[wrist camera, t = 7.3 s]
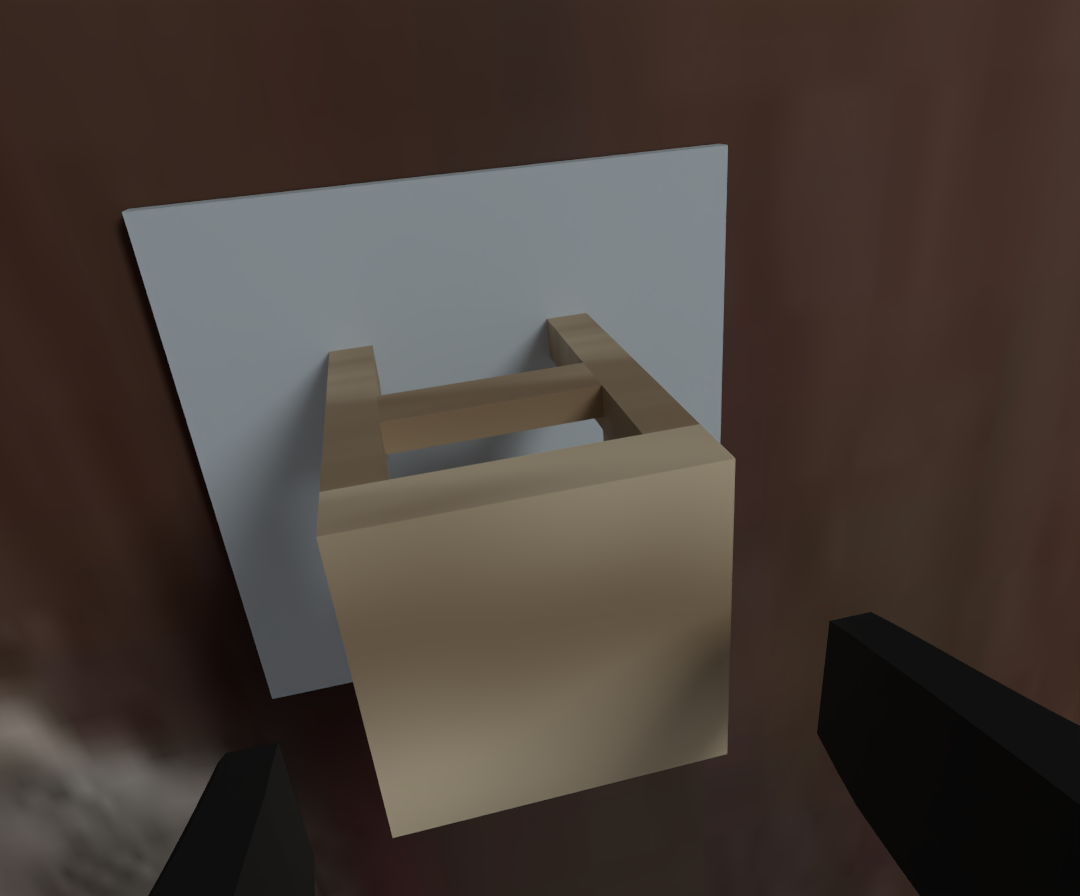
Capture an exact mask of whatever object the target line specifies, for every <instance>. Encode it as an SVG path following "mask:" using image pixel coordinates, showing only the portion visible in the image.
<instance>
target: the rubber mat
mask: <svg viewBox="0 0 1080 896" xmlns="http://www.w3.org/2000/svg"><path fill="white" fill-rule="evenodd" d="M727 157H728V145H725V144H712V145H703V146H694V147H685V148H676V149H667V150H658V151H649V152H640V153H631V154H622V155H613V156H604V157H595V158H586V159H577V160H568V161H559V162H550V163H540V164H531V165H522V166H513V167H504V168H495V169H486V170H477V171H468V172H459V173H450V174H441V175H432V176H423V177H414V178H405V179H396V180H387V181H378V182H368V183H359V184H350V185H341V186H332V187H323V188H314V189H305V190H296V191H287V192H278V193H269V194H260V195H251V196H242V197H233V198H224V199H215V200H205V201H196V202H187V203H178V204H169V205H160V206H151V207H142V208H133V209H127V210H125V211H123V212H122V214H123V217H124V221H125V224H126V227H127V230H128V233H129V237H130V240H131V243H132V246H133V250H134V253H135V256H136V259H137V263H138V266H139V269H140V272H141V276H142V279H143V282H144V285H145V288H146V292H147V295H148V298H149V301H150V305H151V308H152V311H153V314H154V318H155V321H156V324H157V327H158V331H159V334H160V337H161V340H162V343H163V347H164V350H165V353H166V356H167V360H168V363H169V366H170V369H171V373H172V376H173V379H174V382H175V386H176V389H177V392H178V395H179V398H180V402H181V405H182V408H183V411H184V415H185V418H186V421H187V424H188V428H189V431H190V434H191V437H192V441H193V444H194V447H195V450H196V453H197V457H198V460H199V463H200V466H201V470H202V473H203V476H204V479H205V483H206V486H207V489H208V492H209V496H210V499H211V502H212V505H213V508H214V512H215V515H216V518H217V521H218V525H219V528H220V531H221V534H222V538H223V541H224V544H225V547H226V551H227V554H228V557H229V560H230V563H231V567H232V570H233V573H234V576H235V580H236V583H237V586H238V589H239V593H240V596H241V599H242V602H243V606H244V609H245V612H246V615H247V618H248V622H249V625H250V628H251V631H252V635H253V638H254V641H255V644H256V648H257V651H258V654H259V657H260V661H261V664H262V667H263V670H264V673H265V677H266V680H267V683H268V686H269V690H270V693H271V696H272V699H275V698H280V697H284V696H289V695H294V694H298V693H303V692H308V691H313V690H317V689H322V688H327V687H331V686H336V685H341V684H346V683H350V682H353V680H352V676H351V672H350V668H349V664H348V660H347V656H346V652H345V648H344V644H343V641H342V637H341V633H340V629H339V625H338V621H337V617H336V613H335V609H334V605H333V601H332V597H331V593H330V590H329V586H328V582H327V578H326V574H325V570H324V566H323V562H322V558H321V554H320V550H319V546H318V542H317V539H316V532H317V518H318V504H319V490H320V476H321V462H322V448H323V434H324V420H325V406H326V392H327V378H328V364H329V352H330V351H337V350H343V349H350V348H357V347H363V346H370V345H373V350H374V355H375V361H376V366H377V371H378V376H379V381H380V388H381V395H386V394H392V393H398V392H405V391H411V390H417V389H423V388H429V387H436V386H442V385H448V384H454V383H460V382H467V381H473V380H479V379H485V378H491V377H498V376H504V375H510V374H516V373H522V372H529V371H535V370H541V369H547V368H553V367H557V366H556V365H555V363H554V362H553V361H552V359H551V358H550V349H549V337H548V326H547V319H549V318H555V317H562V316H569V315H575V314H582V313H587V314H588V315H589V316H590V317H591V318H592V319H593V320H594V321H595V322H596V323H597V324H598V325H599V326H600V327H601V328H602V329H603V330H605V331H606V332H607V333H608V334H609V335H610V336H611V337H612V338H613V339H614V340H615V341H616V342H617V343H618V344H619V345H620V346H621V347H622V348H623V349H624V350H625V351H626V352H627V353H628V354H629V355H630V356H631V357H632V358H633V359H634V360H635V361H636V362H637V363H638V364H639V365H640V366H641V367H642V368H643V369H644V370H645V371H646V372H647V373H648V374H649V375H650V376H652V377H653V378H654V379H655V380H656V381H657V382H658V383H659V384H660V385H661V386H662V387H663V388H664V389H665V390H666V391H667V392H668V393H669V394H670V395H671V396H672V397H673V398H674V399H675V400H676V401H677V402H678V403H679V404H680V405H681V406H682V407H683V408H684V409H685V410H686V411H687V412H688V413H689V414H690V415H691V416H692V417H693V418H694V419H695V420H696V421H698V422H699V423H700V424H701V425H702V426H703V427H704V428H705V429H706V430H707V431H708V432H709V433H710V434H711V435H712V436H713V437H714V438H715V439H716V440H717V441H718V442H719V443H720V430H721V391H722V352H723V313H724V274H725V235H726V196H727ZM602 441H603V429H602V428H601V427H600V425H599V424H598V423H597V421H596V420H595V419H589V420H583V421H577V422H571V423H566V424H560V425H554V426H548V427H543V428H537V429H531V430H525V431H520V432H514V433H508V434H502V435H497V436H491V437H485V438H479V439H473V440H468V441H462V442H456V443H450V444H445V445H439V446H433V447H427V448H422V449H416V450H410V451H404V452H399V453H393V454H387V456H388V466H389V476H390V479H395V478H401V477H407V476H412V475H418V474H423V473H429V472H435V471H440V470H446V469H451V468H457V467H463V466H468V465H474V464H479V463H485V462H491V461H496V460H502V459H507V458H513V457H519V456H524V455H530V454H535V453H541V452H547V451H552V450H558V449H563V448H569V447H574V446H580V445H586V444H591V443H597V442H602Z"/></svg>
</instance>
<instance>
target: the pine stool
mask: <svg viewBox="0 0 1080 896" xmlns="http://www.w3.org/2000/svg"><path fill="white" fill-rule="evenodd" d="M547 326H548V337H549V349H550V358H551V359H552V361H553V362H554V363H555V365H556V366H557V367H553V368H547V369H541V370H535V371H529V372H522V373H516V374H510V375H504V376H498V377H491V378H485V379H479V380H473V381H467V382H460V383H454V384H448V385H442V386H436V387H429V388H423V389H417V390H411V391H405V392H398V393H392V394H386V395H381V388H380V381H379V376H378V371H377V366H376V361H375V355H374V350H373V345H370V346H363V347H357V348H350V349H343V350H337V351H330V352H329V364H328V378H327V392H326V406H325V420H324V434H323V448H322V462H321V476H320V490H319V504H318V518H317V532H316V539H317V542H318V546H319V550H320V554H321V558H322V562H323V566H324V570H325V574H326V578H327V582H328V586H329V590H330V593H331V597H332V601H333V605H334V609H335V613H336V617H337V621H338V625H339V629H340V633H341V637H342V641H343V644H344V648H345V652H346V656H347V660H348V664H349V668H350V672H351V676H352V680H353V684H354V688H355V692H356V695H357V699H358V703H359V707H360V711H361V715H362V719H363V723H364V727H365V731H366V735H367V739H368V743H369V747H370V750H371V754H372V758H373V762H374V766H375V770H376V774H377V778H378V782H379V786H380V790H381V794H382V798H383V801H384V805H385V809H386V813H387V817H388V821H389V825H390V829H391V833H392V837H393V838H395V837H399V836H403V835H407V834H411V833H415V832H419V831H423V830H427V829H431V828H435V827H439V826H443V825H447V824H451V823H455V822H459V821H463V820H466V819H470V818H474V817H478V816H482V815H486V814H490V813H494V812H498V811H502V810H506V809H510V808H514V807H518V806H522V805H526V804H530V803H534V802H538V801H542V800H546V799H550V798H554V797H558V796H562V795H566V794H570V793H574V792H578V791H582V790H586V789H590V788H594V787H598V786H602V785H606V784H610V783H614V782H618V781H622V780H626V779H630V778H634V777H638V776H642V775H646V774H650V773H654V772H658V771H661V770H665V769H669V768H673V767H677V766H681V765H685V764H689V763H693V762H697V761H701V760H705V759H709V758H713V757H717V756H721V755H725V754H727V738H728V702H729V666H730V631H731V595H732V560H733V524H734V488H735V458H734V457H733V456H732V455H731V454H730V453H729V452H728V451H727V450H726V449H725V448H724V447H723V446H722V445H721V444H720V443H719V442H718V441H717V440H716V439H715V438H714V437H713V436H712V435H711V434H710V433H709V432H708V431H707V430H706V429H705V428H704V427H703V426H702V425H701V424H700V423H699V422H698V421H696V420H695V419H694V418H693V417H692V416H691V415H690V414H689V413H688V412H687V411H686V410H685V409H684V408H683V407H682V406H681V405H680V404H679V403H678V402H677V401H676V400H675V399H674V398H673V397H672V396H671V395H670V394H669V393H668V392H667V391H666V390H665V389H664V388H663V387H662V386H661V385H660V384H659V383H658V382H657V381H656V380H655V379H654V378H653V377H652V376H650V375H649V374H648V373H647V372H646V371H645V370H644V369H643V368H642V367H641V366H640V365H639V364H638V363H637V362H636V361H635V360H634V359H633V358H632V357H631V356H630V355H629V354H628V353H627V352H626V351H625V350H624V349H623V348H622V347H621V346H620V345H619V344H618V343H617V342H616V341H615V340H614V339H613V338H612V337H611V336H610V335H609V334H608V333H607V332H606V331H605V330H603V329H602V328H601V327H600V326H599V325H598V324H597V323H596V322H595V321H594V320H593V319H592V318H591V317H590V316H589V315H588V314H587V313H582V314H575V315H569V316H562V317H555V318H549V319H547ZM589 419H595V420H596V421H597V423H598V424H599V425H600V427H601V428H602V429H603V441H602V442H597V443H591V444H586V445H580V446H574V447H569V448H563V449H558V450H552V451H547V452H541V453H535V454H530V455H524V456H519V457H513V458H507V459H502V460H496V461H491V462H485V463H479V464H474V465H468V466H463V467H457V468H451V469H446V470H440V471H435V472H429V473H423V474H418V475H412V476H407V477H401V478H395V479H390V476H389V466H388V456H387V454H393V453H399V452H404V451H410V450H416V449H422V448H427V447H433V446H439V445H445V444H450V443H456V442H462V441H468V440H473V439H479V438H485V437H491V436H497V435H502V434H508V433H514V432H520V431H525V430H531V429H537V428H543V427H548V426H554V425H560V424H566V423H571V422H577V421H583V420H589Z"/></svg>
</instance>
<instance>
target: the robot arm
mask: <svg viewBox="0 0 1080 896" xmlns="http://www.w3.org/2000/svg"><path fill="white" fill-rule="evenodd" d="M817 734H818V736H819V738H820V740H821V741H822V743H823V745H824V747H825V749H826V751H827V753H828V755H829V757H830V759H831V760H832V762H833V764H834V766H835V768H836V770H837V772H838V774H839V775H840V777H841V779H842V781H843V783H844V784H845V786H846V788H847V790H848V791H849V793H850V795H851V797H852V798H853V800H854V802H855V804H856V805H857V807H858V808H859V810H860V811H861V813H862V814H863V816H864V817H865V819H866V820H867V821H868V823H869V824H870V826H871V827H872V829H873V830H874V831H875V833H876V834H877V836H878V837H879V839H880V840H881V841H882V843H883V844H884V846H885V847H886V849H887V850H888V851H889V853H890V854H891V856H892V857H893V859H894V860H895V861H896V863H897V864H898V866H899V867H900V868H901V870H902V871H903V873H904V874H905V875H906V877H907V878H908V880H909V881H910V882H911V884H912V885H913V887H914V888H915V889H916V891H917V892H918V894H919V895H920V896H1080V726H1079V725H1077V724H1075V723H1073V722H1071V721H1069V720H1067V719H1066V718H1064V717H1062V716H1060V715H1058V714H1056V713H1054V712H1052V711H1050V710H1048V709H1047V708H1045V707H1043V706H1041V705H1039V704H1037V703H1035V702H1033V701H1032V700H1030V699H1028V698H1026V697H1024V696H1022V695H1021V694H1019V693H1017V692H1015V691H1013V690H1011V689H1010V688H1008V687H1006V686H1004V685H1002V684H1001V683H999V682H997V681H995V680H993V679H992V678H990V677H988V676H986V675H984V674H983V673H981V672H979V671H977V670H975V669H974V668H972V667H970V666H968V665H966V664H965V663H963V662H961V661H959V660H958V659H956V658H954V657H952V656H950V655H949V654H947V653H945V652H943V651H942V650H940V649H938V648H936V647H934V646H933V645H931V644H929V643H927V642H926V641H924V640H922V639H920V638H918V637H917V636H915V635H913V634H911V633H909V632H908V631H906V630H904V629H902V628H900V627H898V626H897V625H895V624H893V623H891V622H889V621H887V620H885V619H883V618H881V617H879V616H878V615H876V614H874V613H872V612H869V613H864V614H860V615H855V616H851V617H846V618H842V619H837V620H832V621H830V623H829V631H828V640H827V649H826V658H825V667H824V676H823V685H822V694H821V703H820V712H819V721H818V730H817ZM148 896H315V890H314V855H313V852H312V849H311V846H310V842H309V839H308V836H307V833H306V829H305V826H304V823H303V820H302V817H301V813H300V810H299V807H298V804H297V800H296V797H295V794H294V791H293V787H292V784H291V781H290V778H289V775H288V771H287V768H286V765H285V762H284V758H283V755H282V752H281V749H280V746H279V742H276V743H271V744H266V745H262V746H257V747H253V748H248V749H244V750H239V751H234V752H230V753H226V754H225V755H224V756H223V757H222V758H221V760H220V761H219V762H218V764H217V766H216V768H215V770H214V772H213V774H212V776H211V778H210V780H209V782H208V784H207V786H206V788H205V790H204V792H203V794H202V796H201V798H200V800H199V802H198V804H197V806H196V808H195V810H194V812H193V814H192V816H191V818H190V820H189V822H188V824H187V826H186V827H185V829H184V831H183V833H182V835H181V837H180V839H179V841H178V843H177V844H176V846H175V848H174V850H173V852H172V854H171V856H170V858H169V859H168V861H167V863H166V865H165V867H164V869H163V871H162V872H161V874H160V876H159V878H158V880H157V881H156V883H155V885H154V887H153V888H152V890H151V892H150V894H149V895H148Z"/></svg>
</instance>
